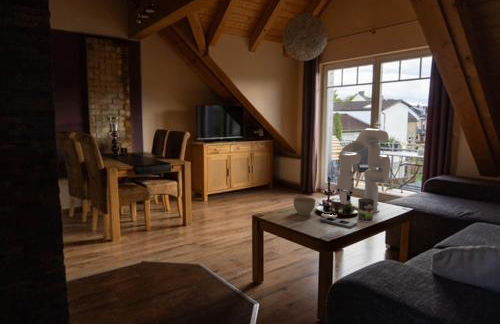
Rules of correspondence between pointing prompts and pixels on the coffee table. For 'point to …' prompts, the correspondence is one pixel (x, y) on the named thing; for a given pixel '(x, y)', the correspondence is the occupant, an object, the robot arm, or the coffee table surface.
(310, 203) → the planter bowl
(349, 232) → the coffee table surface
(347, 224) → the dark grey flat plate
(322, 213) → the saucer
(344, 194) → the light grey block
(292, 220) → the coffee table surface
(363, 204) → the coffee can
